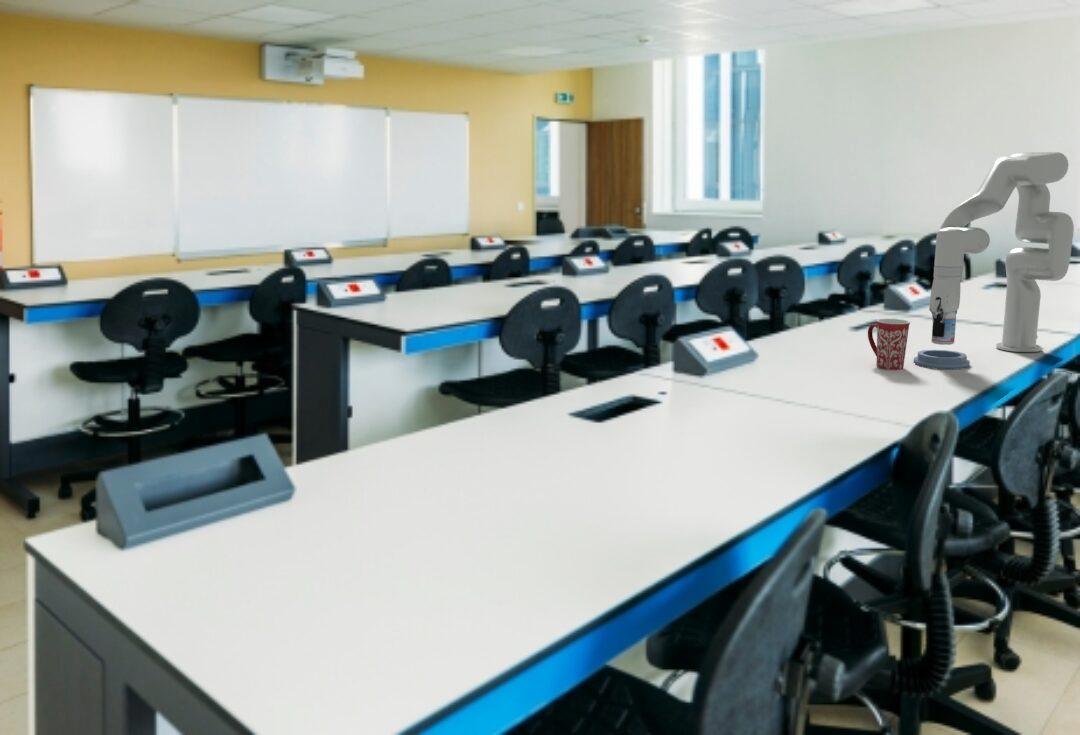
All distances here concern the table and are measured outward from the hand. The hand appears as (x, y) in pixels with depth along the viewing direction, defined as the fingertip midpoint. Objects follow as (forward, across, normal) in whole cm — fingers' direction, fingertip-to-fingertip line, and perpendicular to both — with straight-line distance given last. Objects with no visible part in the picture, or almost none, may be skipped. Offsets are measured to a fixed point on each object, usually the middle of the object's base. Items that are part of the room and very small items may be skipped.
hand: (943, 334), depth 272 cm
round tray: (+9, 0, 0) cm, 9 cm away
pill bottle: (+3, 0, 0) cm, 3 cm away
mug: (+9, +14, -10) cm, 19 cm away
